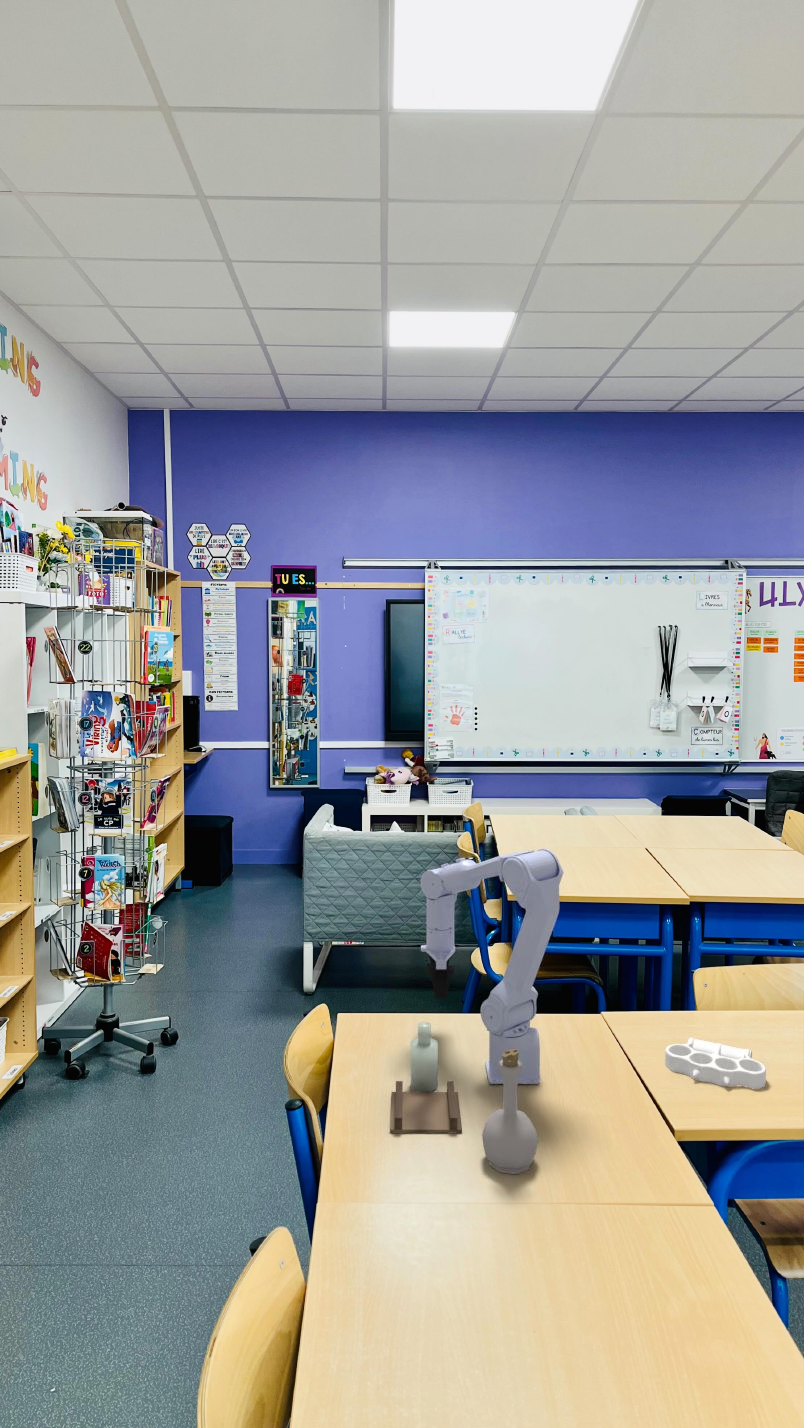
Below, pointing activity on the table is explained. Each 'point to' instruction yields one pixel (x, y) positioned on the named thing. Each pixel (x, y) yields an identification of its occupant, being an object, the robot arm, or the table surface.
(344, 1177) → the table surface
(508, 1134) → the potion bottle
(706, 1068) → the knuckle duster
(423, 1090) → the sage bottle
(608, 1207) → the table surface
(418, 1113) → the walnut cradle
